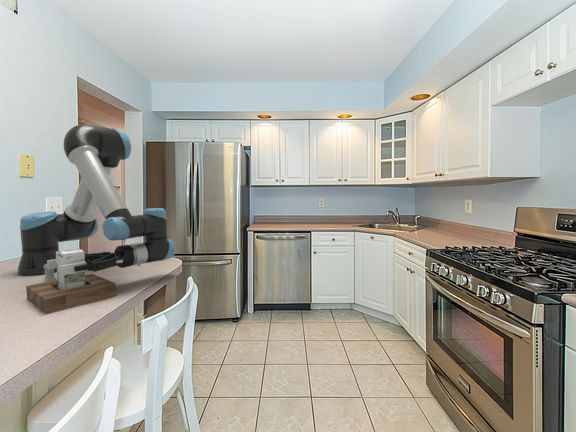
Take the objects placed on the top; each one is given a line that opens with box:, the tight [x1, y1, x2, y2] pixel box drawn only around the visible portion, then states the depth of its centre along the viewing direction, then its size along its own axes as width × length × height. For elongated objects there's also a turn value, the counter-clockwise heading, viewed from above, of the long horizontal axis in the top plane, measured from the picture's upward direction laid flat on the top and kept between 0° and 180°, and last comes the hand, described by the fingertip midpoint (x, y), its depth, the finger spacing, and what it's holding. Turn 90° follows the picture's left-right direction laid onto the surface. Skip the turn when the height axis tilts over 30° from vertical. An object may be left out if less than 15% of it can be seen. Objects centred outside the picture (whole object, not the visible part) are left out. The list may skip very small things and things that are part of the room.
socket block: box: [25, 273, 117, 315], centre depth 98 cm, size 18×18×4 cm
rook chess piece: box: [42, 264, 57, 283], centre depth 107 cm, size 4×4×8 cm
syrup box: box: [56, 248, 86, 291], centre depth 97 cm, size 6×6×14 cm
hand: (53, 267), depth 94 cm, fingers open, 10 cm apart
